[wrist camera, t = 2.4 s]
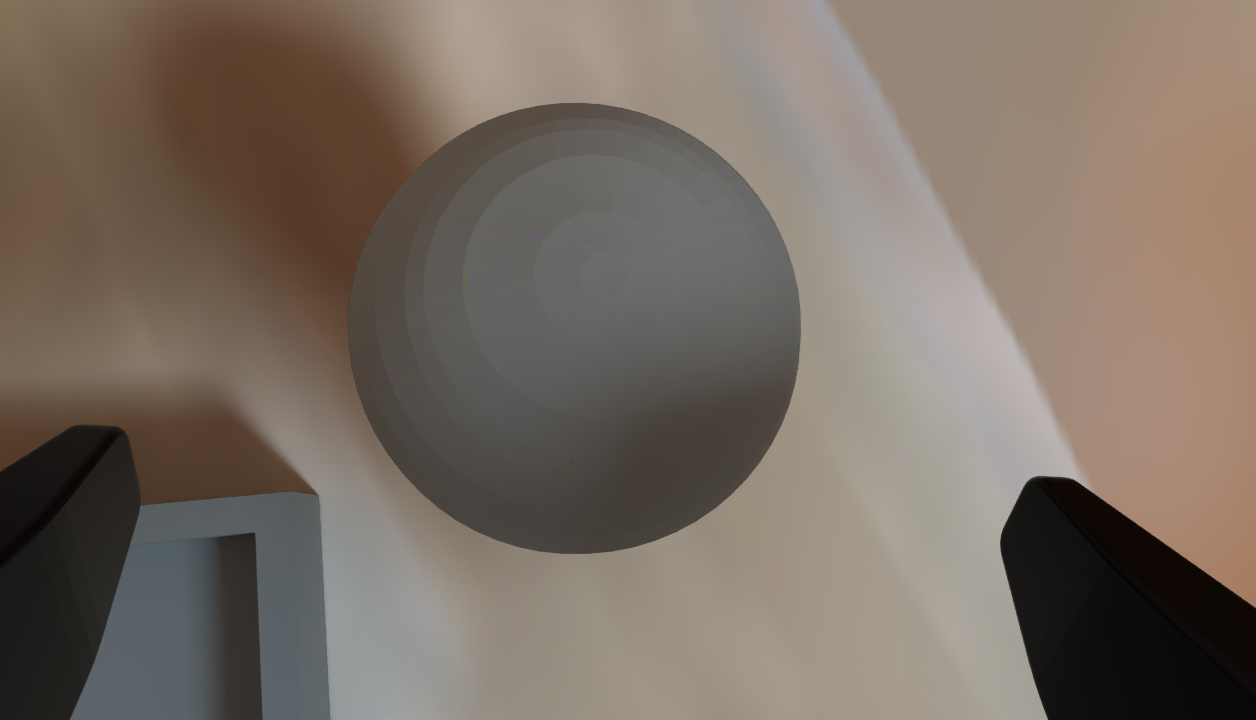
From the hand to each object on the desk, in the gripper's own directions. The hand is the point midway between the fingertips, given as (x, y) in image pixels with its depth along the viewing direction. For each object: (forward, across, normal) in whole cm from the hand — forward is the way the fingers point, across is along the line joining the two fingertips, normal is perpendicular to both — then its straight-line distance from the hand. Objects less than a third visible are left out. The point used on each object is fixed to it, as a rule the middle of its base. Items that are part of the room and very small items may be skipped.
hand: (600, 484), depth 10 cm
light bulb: (+8, 0, +5) cm, 10 cm away
